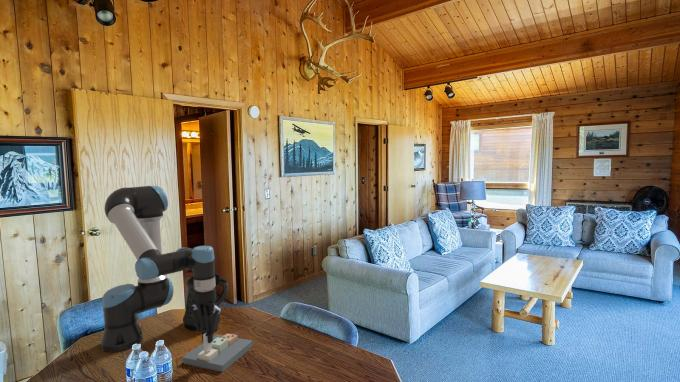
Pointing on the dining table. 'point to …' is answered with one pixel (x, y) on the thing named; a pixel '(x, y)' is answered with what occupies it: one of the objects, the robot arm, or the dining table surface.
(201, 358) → the cream square block
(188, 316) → the beer stein
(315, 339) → the dining table surface
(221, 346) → the pale green block
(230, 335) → the pink square block
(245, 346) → the button board
